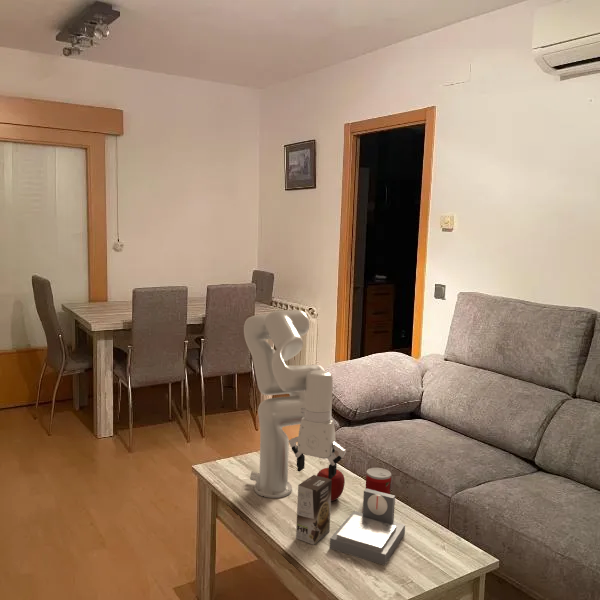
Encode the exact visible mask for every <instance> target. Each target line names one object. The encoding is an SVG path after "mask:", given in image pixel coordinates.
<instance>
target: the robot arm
mask: <svg viewBox="0 0 600 600" xmlns="http://www.w3.org/2000/svg"><path fill="white" fill-rule="evenodd" d="M309 330H310V319H309V316H308V315H307V314H306V312H305V311H303V310H300V309H291V310H290V309H289V310H286V309H285V310H275V311H272V312H270V313H267V314H257V315H252V316H250V317H248V318H246V320H245V322H244V324H243V336H244V340H245V342H246V343H245V344H246V346H247V348H248V350H249V352H250V354H251V357H252V361H253V367H254V373H255V379H256V384H257V389H258V391H259V393H260V394H261V395H264V396H275V395H276V396H277V395H286V394H287V395H288V394H289V396H280V397H279V396H278V397H271V398H267V399H264V400H263V401H261V402H260V403H259V404H258V408H257V414H258V421H259V432H260V435H259V436H260V437H259V441H260V443H259V472H257V471H251V472H250V475H249V476H250V477H249V480H251V481H255V484H254V491H255V493H256V494H257V495H259V496H261V497H263V496H264V498H269V499H276V498H277V499H278V498H283V497H286V496H288V495H290V494H291V493H292V491H293V486H292V484H291V483H290V482H289V478H288V477H289V449H290V448H289V447H291V451H292V452H293V453H294V457H295V458H296V467H297V472H301V471H302V470H304V469H305V464H306V463H305V460H306V456H309V457H315V458H320V459H324V460H325V459H326V460H327V461H328V462H329V464H328V468H329V473H328V478H329V479H331V478H333V477H334V476H335V475H336V469H337V466H338V465H337V463H338V462H340V461H341V460H343V458H344V457H345V454H346V453H347V450H346V449H345V448H344V447H342V445H340V444H338V443H337V441H336V430H335V429H336V428H335V424H334V420H333V419H332V411H333V410H332V407H333V406H332V405H333V375H332V373H330V372H329V371H326V370H325V369H324V367H323V366H322V365H320V364H315V363H314V364H300V365H293V364H292V365H289V364H288V365H287V364H286V363H285V362H288V361H289V360H291V359H293V358H294V357H296V356H297V355H298V354H299V353H300V352H301V351H302V349H303V347H304V340H303V338H302V337H303V336H305V335H306V334H307V333H308V332H309ZM266 340H271V341H272V343H273V346H274V347H275V348H274V347H273V346H272V345H271V344H270V343H268V342H267V341H266ZM296 425H299V431H298V436H295V437H293V438H291V439H289V437H288V435H287V433H286V432H285V431H284V430H283V428H284V427H290V426H296ZM289 445H290V446H289ZM336 452H338V455H337V456H336V454H335V453H336ZM305 455H306V456H305Z"/></svg>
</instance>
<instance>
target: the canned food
mask: <svg viewBox="0 0 600 600" xmlns="http://www.w3.org/2000/svg"><path fill="white" fill-rule="evenodd" d="M391 487H392V473H391V471H390V470H388V469H387V468H386V469H385V468H382V467H371V468H368V469H366V473H365V489H371V490H375V491H379V492H383V493H387V494H391V489H392V488H391Z"/></svg>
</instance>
